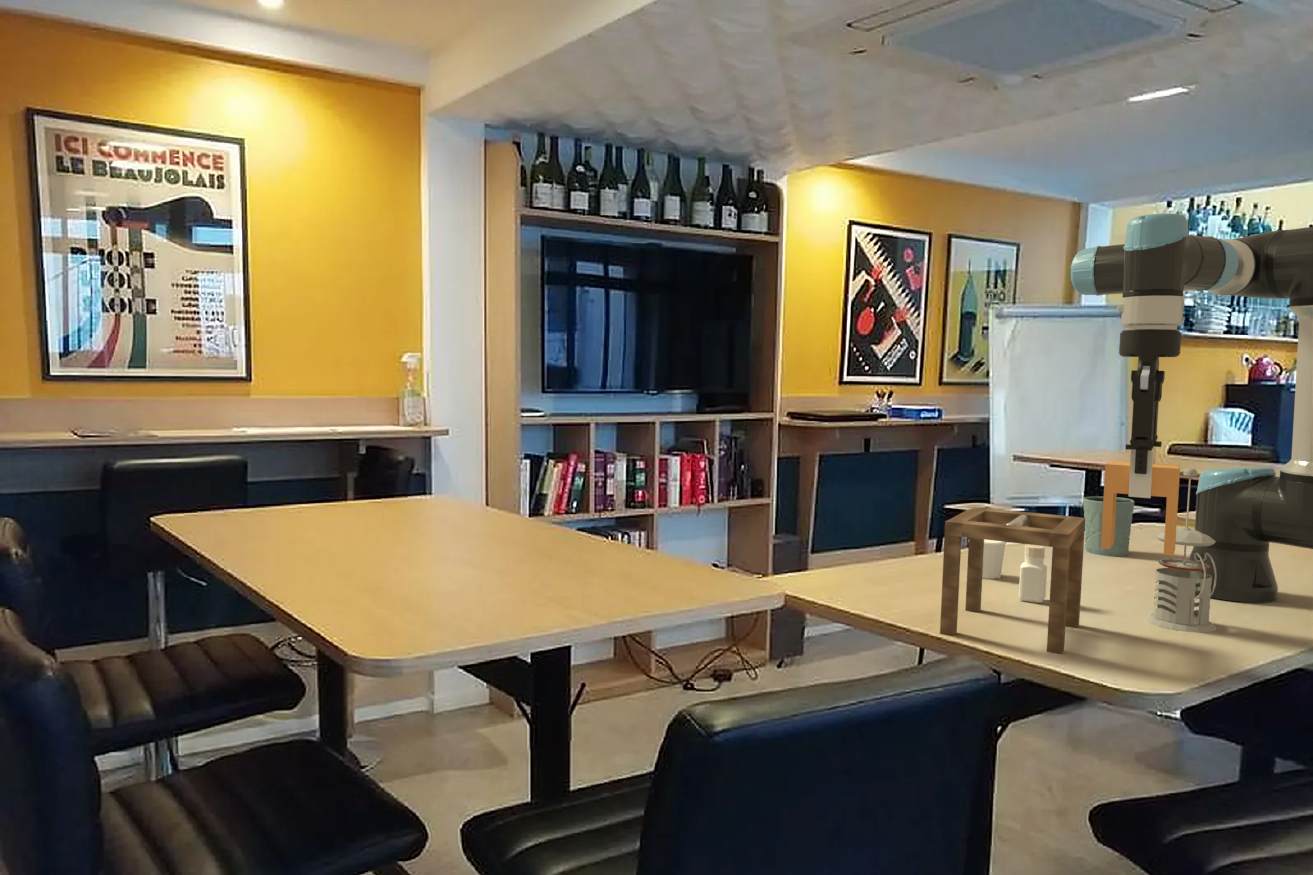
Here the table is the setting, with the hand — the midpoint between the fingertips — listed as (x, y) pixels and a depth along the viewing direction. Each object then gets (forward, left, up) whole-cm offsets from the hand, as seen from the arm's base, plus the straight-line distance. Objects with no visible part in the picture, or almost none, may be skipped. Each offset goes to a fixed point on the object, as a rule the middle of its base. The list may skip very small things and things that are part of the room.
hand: (1141, 494), depth 129 cm
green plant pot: (+11, -79, -23) cm, 83 cm away
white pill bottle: (+17, -23, -23) cm, 37 cm away
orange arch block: (0, 0, -8) cm, 8 cm away
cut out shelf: (+17, -2, -23) cm, 28 cm away
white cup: (+28, -38, -23) cm, 52 cm away
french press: (-6, -21, -23) cm, 31 cm away
